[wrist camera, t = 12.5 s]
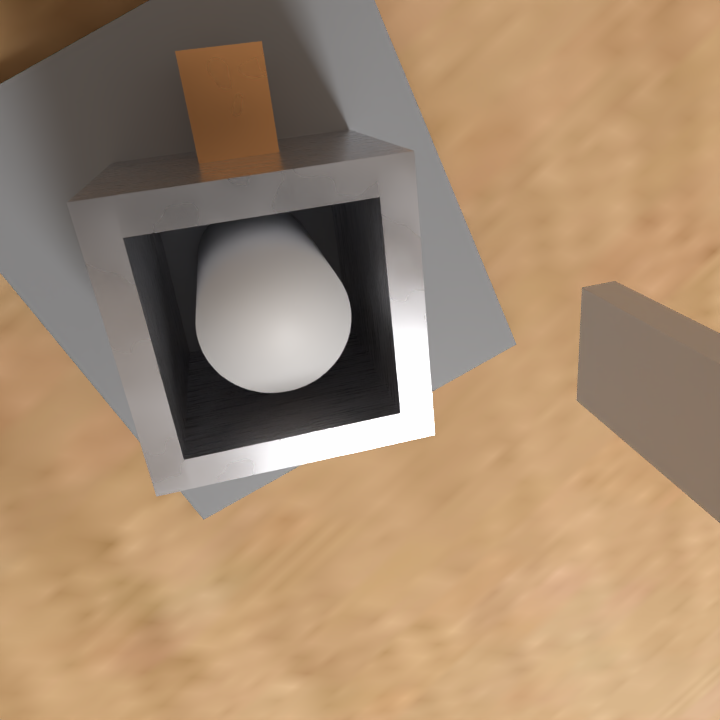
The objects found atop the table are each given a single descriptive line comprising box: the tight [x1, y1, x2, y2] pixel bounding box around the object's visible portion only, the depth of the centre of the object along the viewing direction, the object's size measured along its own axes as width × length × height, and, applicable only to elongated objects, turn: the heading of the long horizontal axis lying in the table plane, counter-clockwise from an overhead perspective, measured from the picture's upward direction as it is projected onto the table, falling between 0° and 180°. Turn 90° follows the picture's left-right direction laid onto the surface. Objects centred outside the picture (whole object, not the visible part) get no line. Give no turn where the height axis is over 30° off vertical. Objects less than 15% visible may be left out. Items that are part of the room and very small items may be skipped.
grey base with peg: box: [0, 0, 516, 519], centre depth 21 cm, size 18×16×8 cm
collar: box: [67, 41, 435, 496], centre depth 20 cm, size 8×11×8 cm
